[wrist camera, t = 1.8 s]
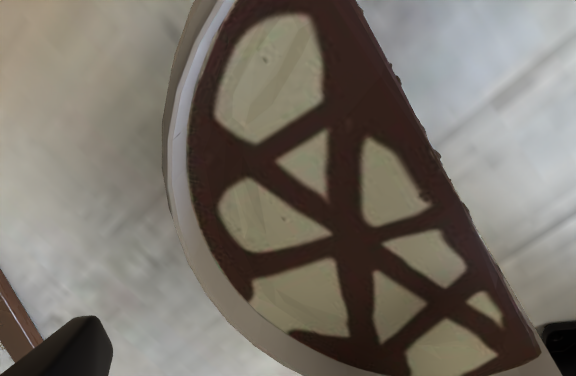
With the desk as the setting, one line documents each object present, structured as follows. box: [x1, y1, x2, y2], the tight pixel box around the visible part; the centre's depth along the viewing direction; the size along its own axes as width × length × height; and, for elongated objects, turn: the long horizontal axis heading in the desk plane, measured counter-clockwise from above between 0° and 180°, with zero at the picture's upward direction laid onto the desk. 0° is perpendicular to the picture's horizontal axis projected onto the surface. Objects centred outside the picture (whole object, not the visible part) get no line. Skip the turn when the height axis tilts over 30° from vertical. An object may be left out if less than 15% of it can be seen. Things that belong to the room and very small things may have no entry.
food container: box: [162, 0, 562, 376], centre depth 13 cm, size 12×6×10 cm, turn 33°
